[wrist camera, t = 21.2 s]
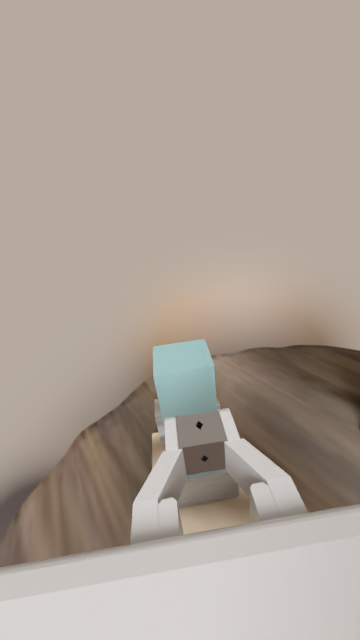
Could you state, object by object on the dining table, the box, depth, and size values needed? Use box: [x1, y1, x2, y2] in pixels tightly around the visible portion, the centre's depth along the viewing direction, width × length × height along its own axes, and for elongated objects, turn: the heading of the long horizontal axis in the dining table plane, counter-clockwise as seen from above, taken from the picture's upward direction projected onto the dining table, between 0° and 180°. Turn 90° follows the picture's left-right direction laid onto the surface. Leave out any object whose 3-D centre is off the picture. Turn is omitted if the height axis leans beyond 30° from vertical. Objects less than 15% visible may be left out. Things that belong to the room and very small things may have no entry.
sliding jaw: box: [157, 458, 239, 507], centre depth 30 cm, size 3×9×5 cm, turn 96°
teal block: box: [153, 339, 217, 425], centre depth 30 cm, size 5×6×18 cm
